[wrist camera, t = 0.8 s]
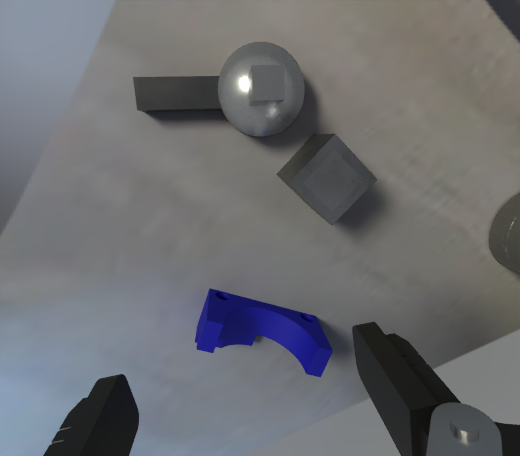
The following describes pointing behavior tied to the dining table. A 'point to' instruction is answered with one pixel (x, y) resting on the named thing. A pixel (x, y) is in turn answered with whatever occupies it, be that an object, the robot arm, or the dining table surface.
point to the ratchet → (235, 90)
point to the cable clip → (262, 328)
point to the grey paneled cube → (327, 176)
